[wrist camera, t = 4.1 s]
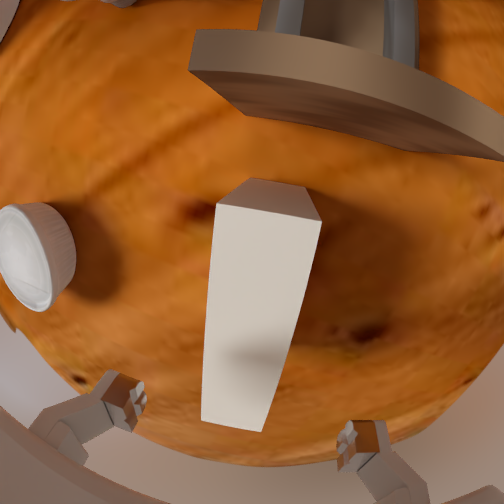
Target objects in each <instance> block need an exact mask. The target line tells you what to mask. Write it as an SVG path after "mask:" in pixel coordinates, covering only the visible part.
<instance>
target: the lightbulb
mask: <svg viewBox="0 0 504 504" xmlns="http://www.w3.org/2000/svg"><path fill="white" fill-rule="evenodd" d="M62 1H74V0H62ZM100 1H102V2H105V3H111V4H113V5H115V6H117V7H119V8H125V7H128V6H130V5H132V4H134V3H135V2H136V1H137V0H100Z"/></svg>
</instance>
